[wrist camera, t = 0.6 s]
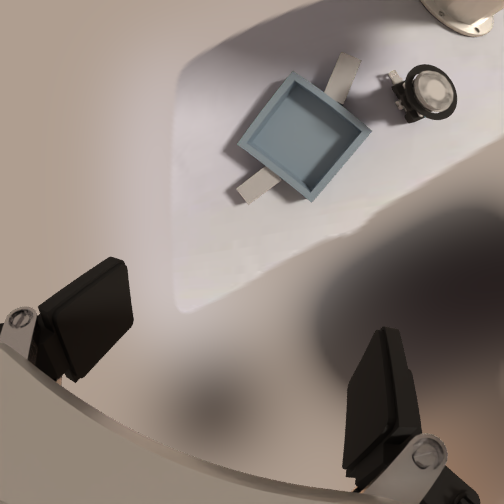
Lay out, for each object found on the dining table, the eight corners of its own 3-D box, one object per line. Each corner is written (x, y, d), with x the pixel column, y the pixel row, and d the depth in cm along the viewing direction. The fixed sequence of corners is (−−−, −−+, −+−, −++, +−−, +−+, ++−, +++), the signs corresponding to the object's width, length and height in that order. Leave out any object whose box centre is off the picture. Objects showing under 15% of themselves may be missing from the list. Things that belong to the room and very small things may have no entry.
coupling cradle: (325, 42, 25) (324, 33, 23) (397, 96, 26) (403, 92, 23) (221, 176, 35) (212, 179, 32) (287, 227, 36) (283, 235, 33)
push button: (372, 80, 26) (389, 58, 17) (407, 66, 24) (434, 43, 15) (399, 130, 27) (427, 127, 18) (433, 115, 25) (470, 109, 16)
